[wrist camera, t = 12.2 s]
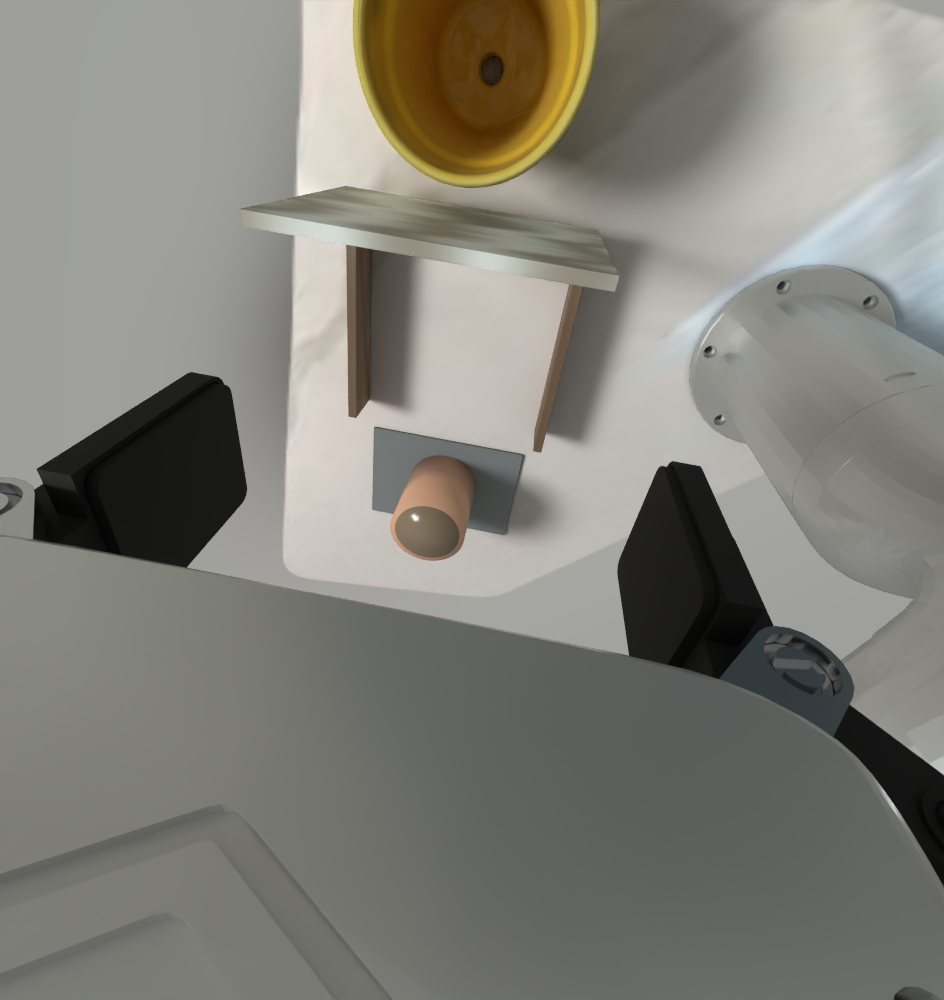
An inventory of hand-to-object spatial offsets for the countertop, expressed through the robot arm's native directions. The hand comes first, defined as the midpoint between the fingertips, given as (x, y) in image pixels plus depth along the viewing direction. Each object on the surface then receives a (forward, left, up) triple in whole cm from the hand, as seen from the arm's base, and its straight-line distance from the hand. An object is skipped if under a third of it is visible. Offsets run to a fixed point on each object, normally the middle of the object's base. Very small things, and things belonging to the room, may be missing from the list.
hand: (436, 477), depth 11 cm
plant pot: (+3, -9, -28) cm, 30 cm away
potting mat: (+3, +20, -28) cm, 35 cm away
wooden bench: (+3, +5, -28) cm, 29 cm away
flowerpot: (+3, +20, -28) cm, 35 cm away
